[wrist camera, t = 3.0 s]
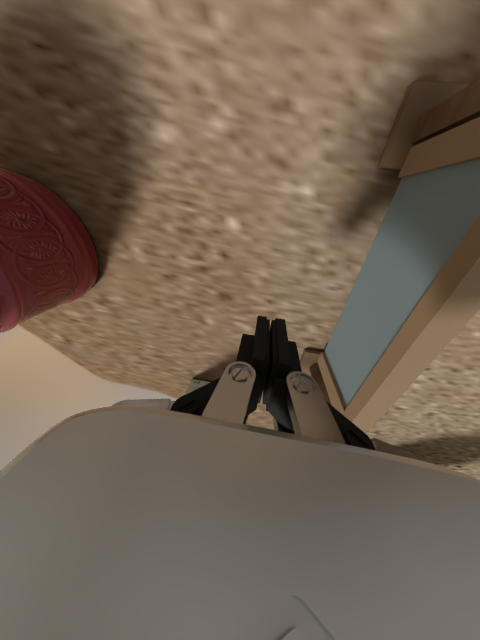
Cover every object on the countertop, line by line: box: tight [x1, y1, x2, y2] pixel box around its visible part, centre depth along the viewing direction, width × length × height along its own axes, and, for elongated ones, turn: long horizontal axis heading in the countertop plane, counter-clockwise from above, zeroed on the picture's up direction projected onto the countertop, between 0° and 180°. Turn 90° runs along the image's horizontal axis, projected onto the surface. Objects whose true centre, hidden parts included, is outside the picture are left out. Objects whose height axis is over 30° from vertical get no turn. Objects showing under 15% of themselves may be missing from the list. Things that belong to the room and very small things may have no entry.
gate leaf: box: [317, 117, 480, 434], centre depth 13 cm, size 20×2×9 cm, turn 175°
